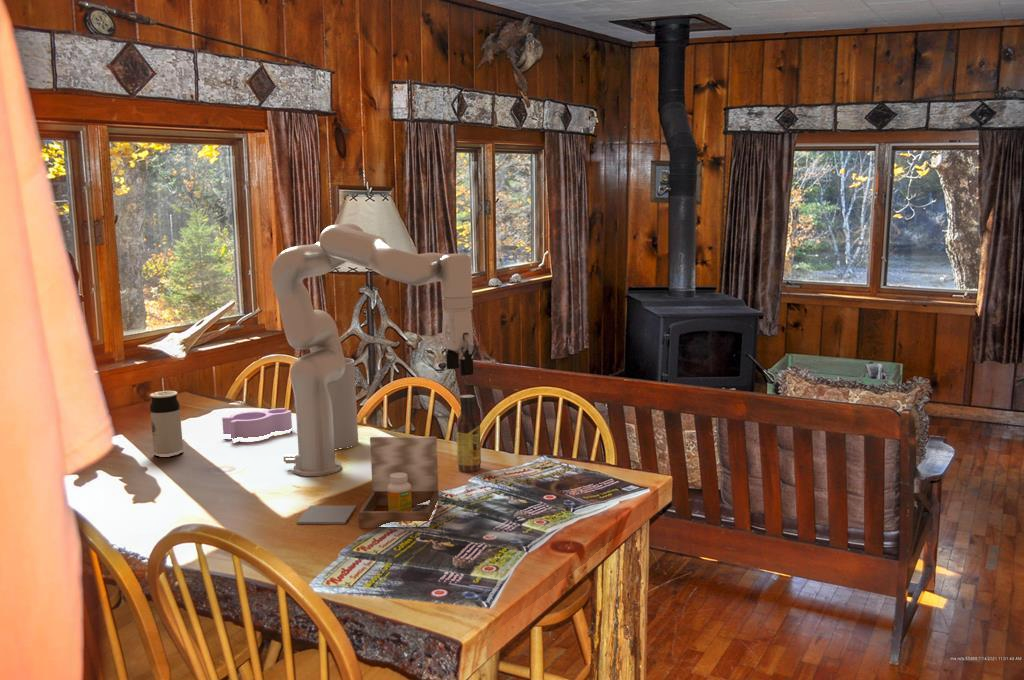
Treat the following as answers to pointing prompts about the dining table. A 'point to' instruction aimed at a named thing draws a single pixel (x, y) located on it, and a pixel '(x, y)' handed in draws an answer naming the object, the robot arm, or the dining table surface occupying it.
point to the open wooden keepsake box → (406, 458)
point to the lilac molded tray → (257, 423)
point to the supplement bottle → (399, 493)
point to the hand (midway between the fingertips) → (459, 371)
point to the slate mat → (326, 515)
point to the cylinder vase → (344, 407)
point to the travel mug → (166, 422)
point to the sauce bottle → (468, 436)
